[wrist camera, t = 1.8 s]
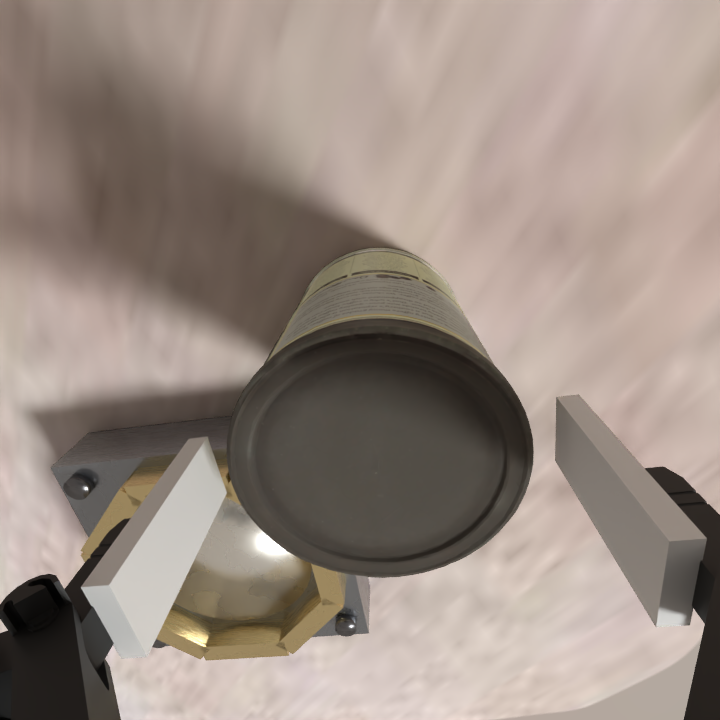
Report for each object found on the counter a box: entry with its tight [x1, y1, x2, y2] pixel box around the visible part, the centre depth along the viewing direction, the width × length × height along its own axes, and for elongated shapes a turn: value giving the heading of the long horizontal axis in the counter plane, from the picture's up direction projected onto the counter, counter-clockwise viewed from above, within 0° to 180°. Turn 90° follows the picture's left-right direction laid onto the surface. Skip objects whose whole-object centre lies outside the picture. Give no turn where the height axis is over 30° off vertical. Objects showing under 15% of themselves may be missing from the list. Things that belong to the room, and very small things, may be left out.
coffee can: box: [226, 248, 533, 578], centre depth 21 cm, size 10×10×14 cm
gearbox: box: [51, 416, 370, 660], centre depth 32 cm, size 18×18×6 cm
